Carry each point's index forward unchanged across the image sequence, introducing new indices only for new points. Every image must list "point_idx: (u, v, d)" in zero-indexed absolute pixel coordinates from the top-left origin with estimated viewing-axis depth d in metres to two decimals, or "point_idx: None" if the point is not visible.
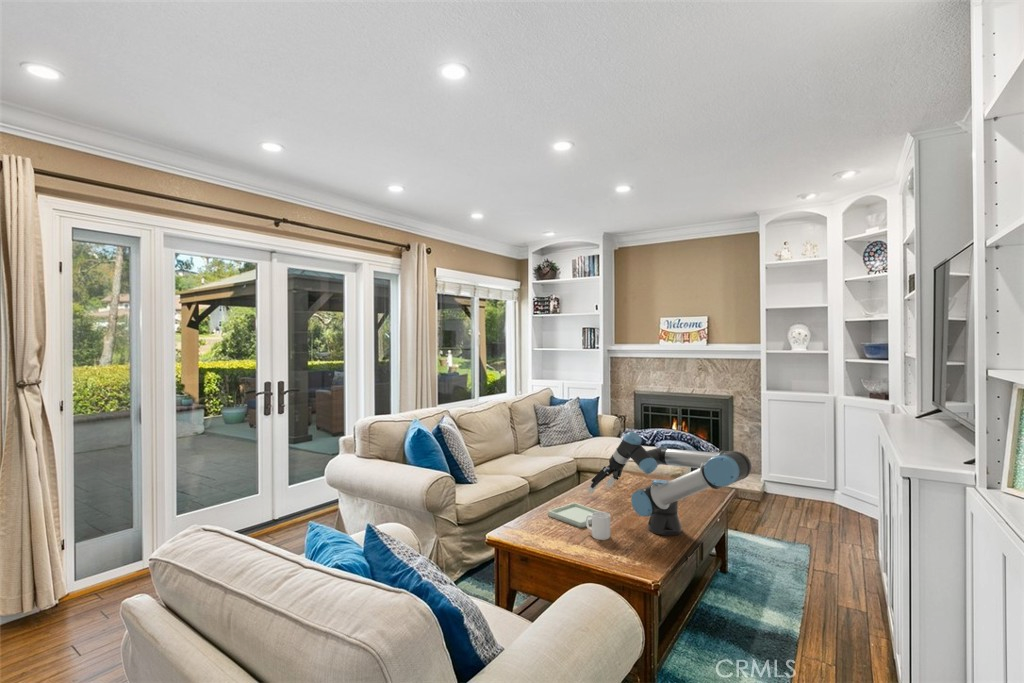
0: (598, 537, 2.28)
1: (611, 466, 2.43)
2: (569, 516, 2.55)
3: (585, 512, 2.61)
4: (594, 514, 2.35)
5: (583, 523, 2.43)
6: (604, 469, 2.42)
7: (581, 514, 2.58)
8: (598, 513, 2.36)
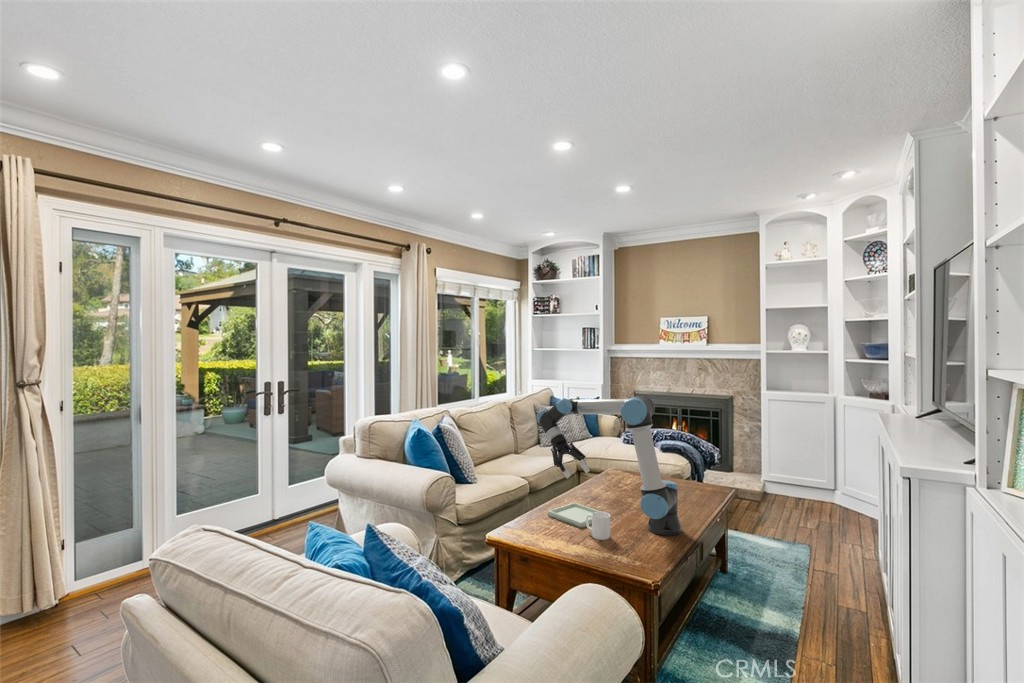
0: (598, 537, 2.28)
1: (555, 444, 2.48)
2: (569, 516, 2.55)
3: (585, 512, 2.61)
4: (594, 514, 2.35)
5: (583, 523, 2.43)
6: (552, 449, 2.46)
7: (581, 514, 2.58)
8: (598, 513, 2.36)
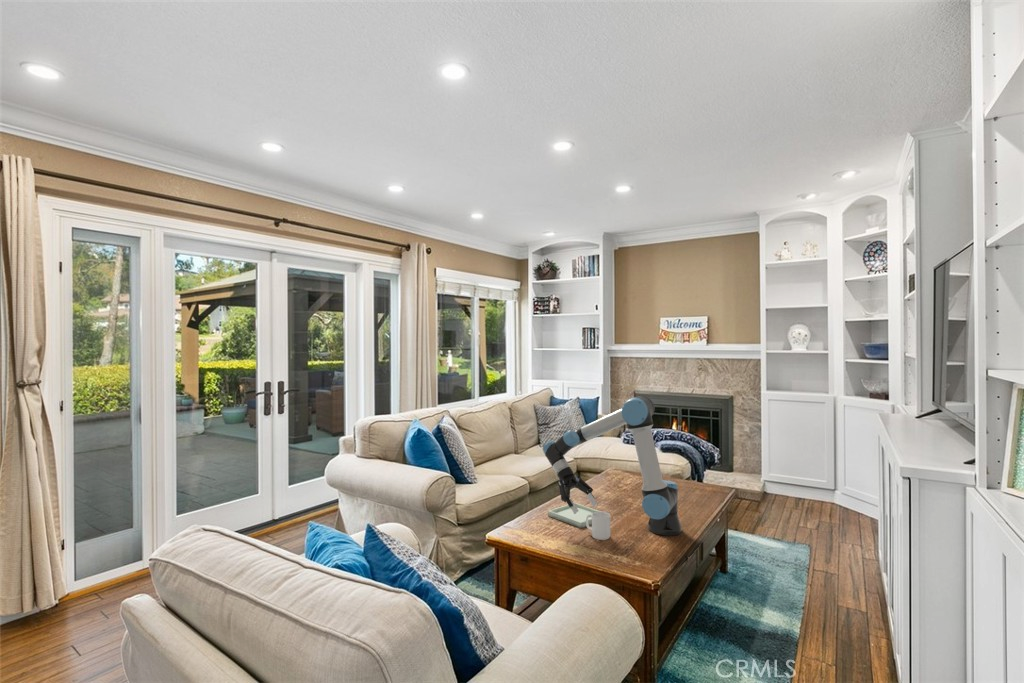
0: (598, 537, 2.28)
1: (562, 478, 2.44)
2: (569, 516, 2.55)
3: (585, 512, 2.61)
4: (594, 514, 2.35)
5: (583, 523, 2.43)
6: (559, 483, 2.41)
7: (581, 514, 2.58)
8: (598, 513, 2.36)
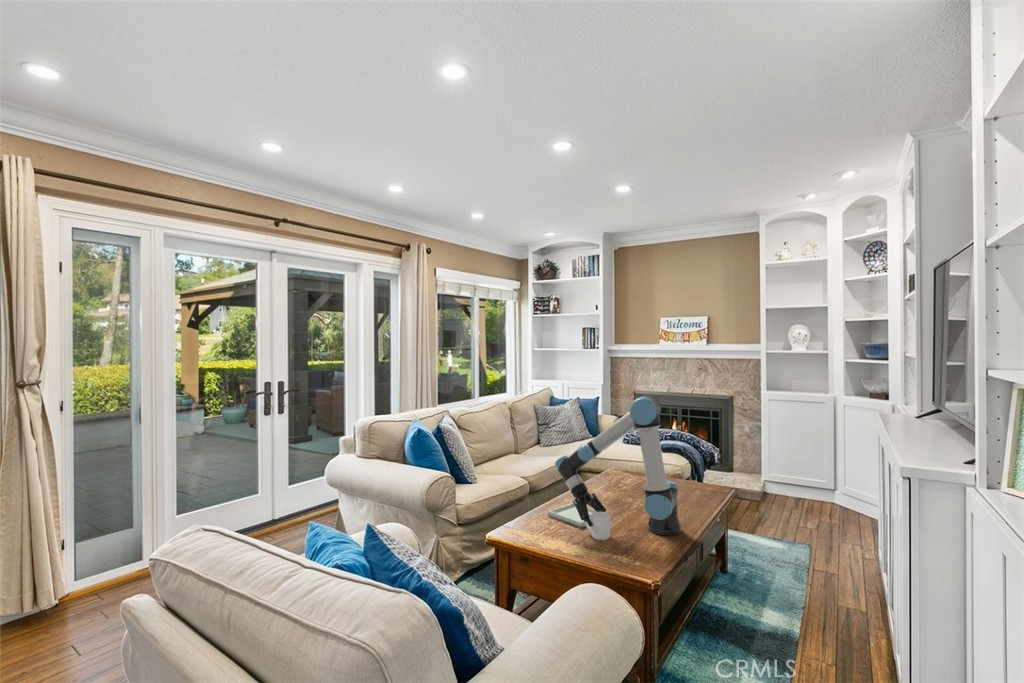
0: (598, 537, 2.28)
1: (576, 494, 2.38)
2: (569, 516, 2.55)
3: None
4: (594, 514, 2.35)
5: (583, 523, 2.43)
6: (574, 502, 2.35)
7: None
8: (598, 513, 2.35)
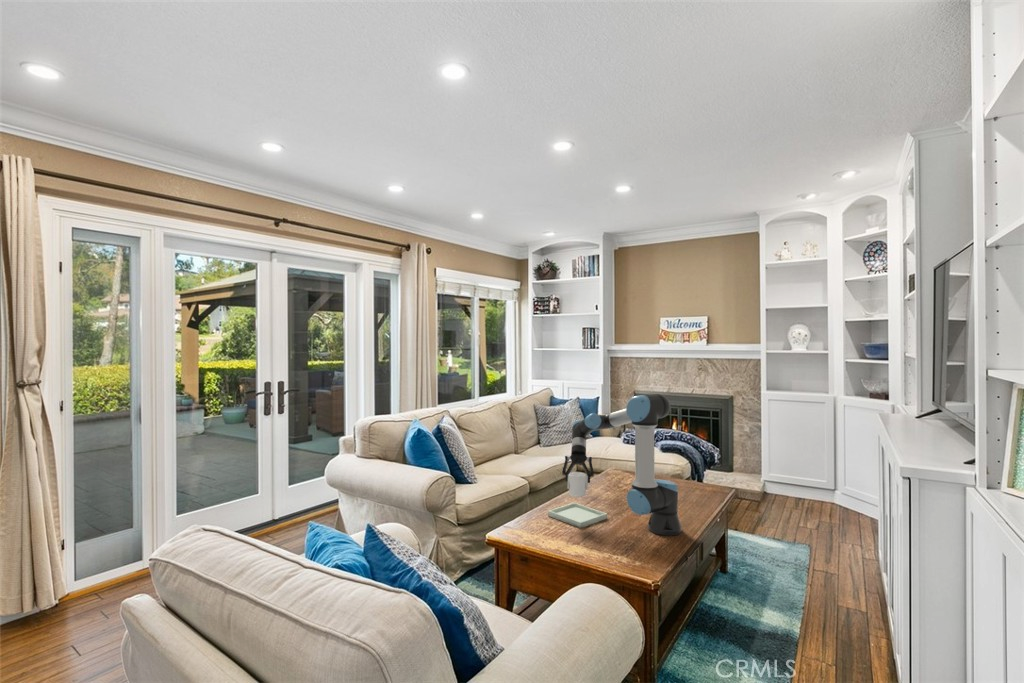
0: (569, 492, 2.49)
1: (571, 453, 2.62)
2: (569, 516, 2.55)
3: (585, 512, 2.61)
4: (577, 473, 2.54)
5: (583, 523, 2.43)
6: (565, 459, 2.61)
7: (581, 514, 2.58)
8: (582, 474, 2.53)
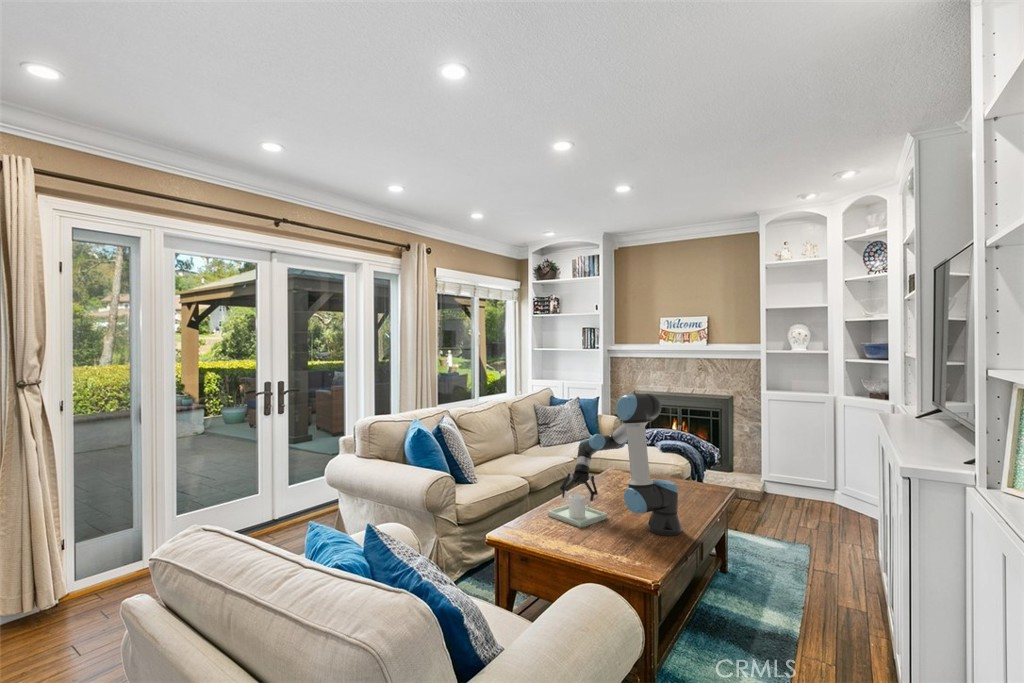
0: None
1: (574, 472, 2.67)
2: None
3: (585, 512, 2.61)
4: (578, 495, 2.59)
5: (583, 523, 2.43)
6: None
7: None
8: (582, 496, 2.57)
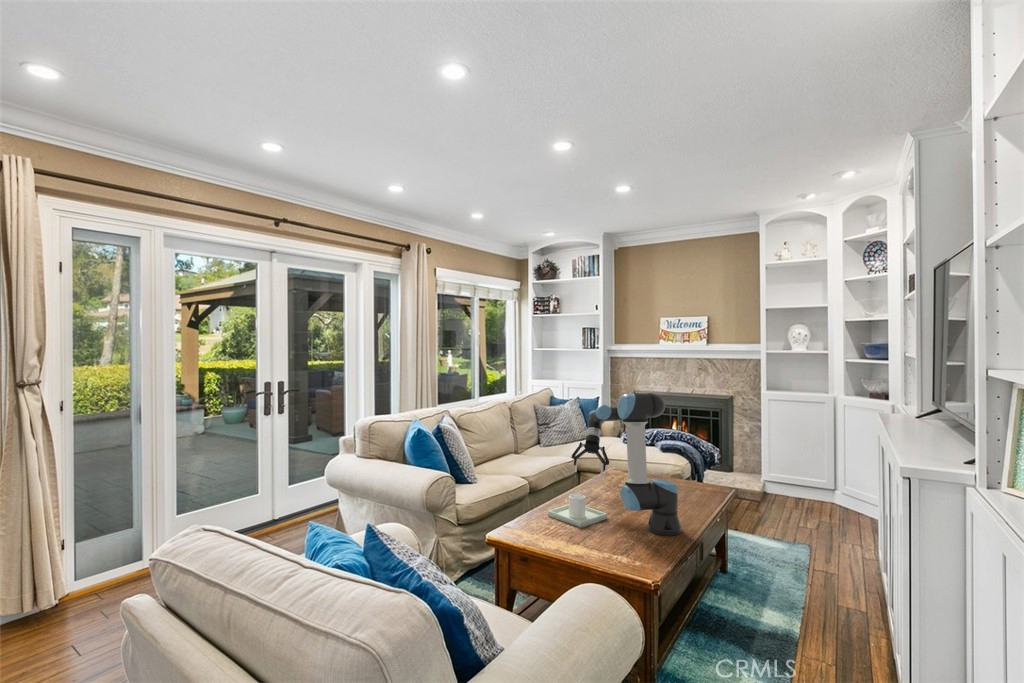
0: None
1: None
2: None
3: (585, 512, 2.61)
4: (578, 495, 2.59)
5: (583, 523, 2.43)
6: (579, 444, 2.78)
7: None
8: (582, 496, 2.57)
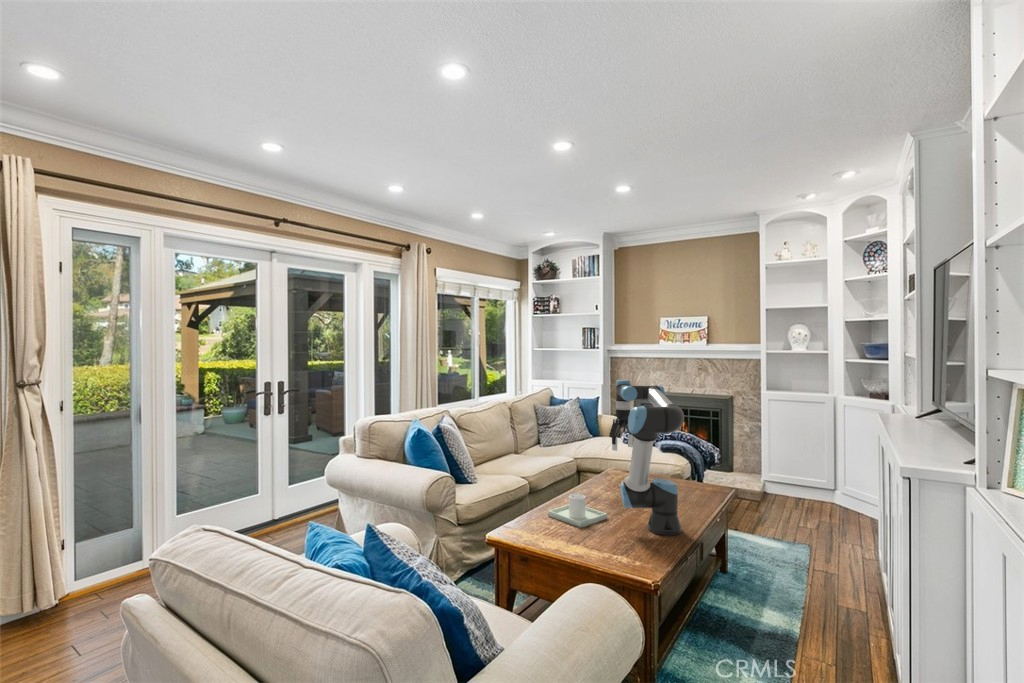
0: None
1: (619, 416, 2.68)
2: None
3: (585, 512, 2.61)
4: (578, 495, 2.59)
5: (583, 523, 2.43)
6: (614, 420, 2.67)
7: None
8: (582, 496, 2.57)
